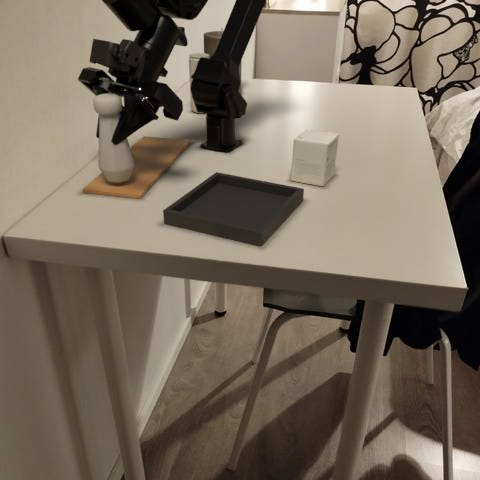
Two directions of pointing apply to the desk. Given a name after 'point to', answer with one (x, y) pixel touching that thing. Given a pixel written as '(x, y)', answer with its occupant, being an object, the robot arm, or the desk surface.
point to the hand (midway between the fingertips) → (106, 141)
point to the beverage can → (192, 67)
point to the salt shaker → (110, 155)
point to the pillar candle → (215, 45)
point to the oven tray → (235, 208)
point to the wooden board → (142, 167)
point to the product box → (314, 157)
